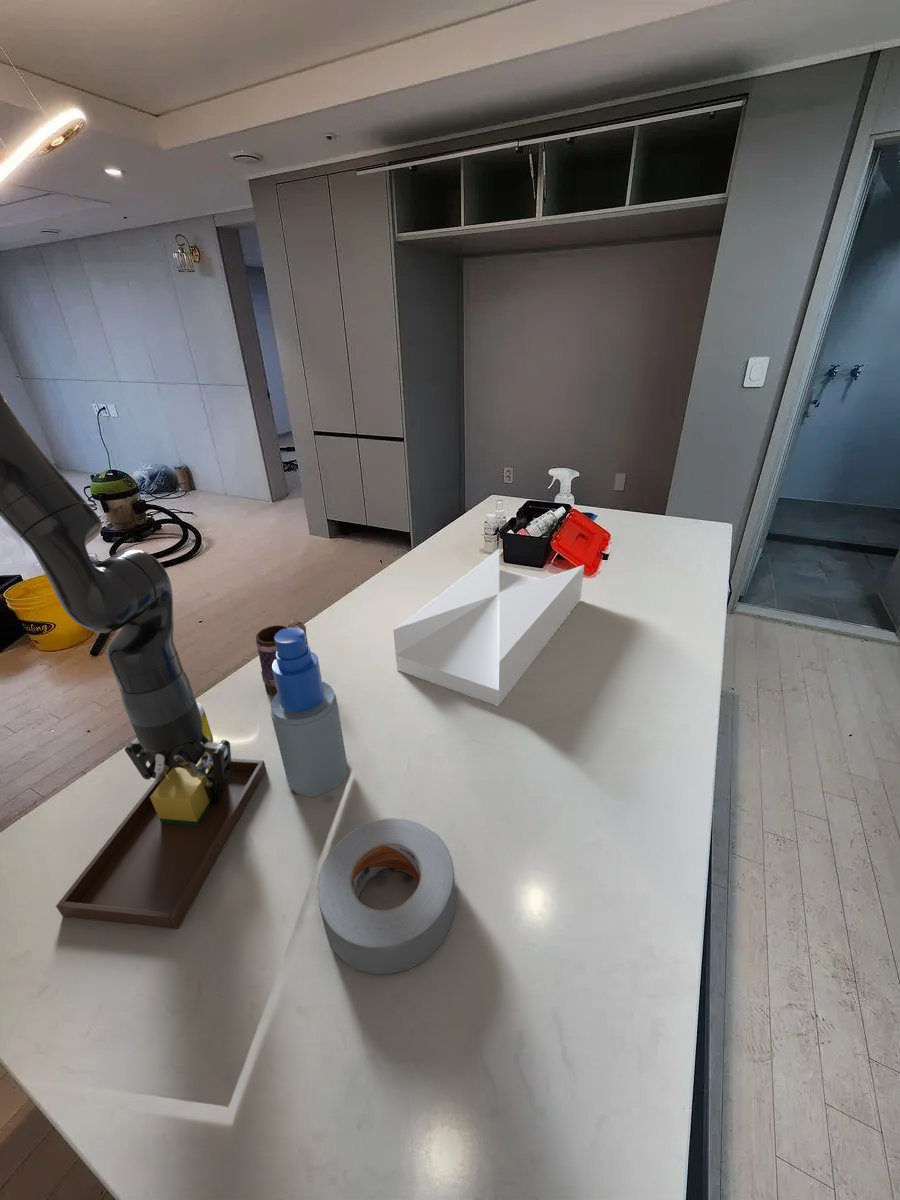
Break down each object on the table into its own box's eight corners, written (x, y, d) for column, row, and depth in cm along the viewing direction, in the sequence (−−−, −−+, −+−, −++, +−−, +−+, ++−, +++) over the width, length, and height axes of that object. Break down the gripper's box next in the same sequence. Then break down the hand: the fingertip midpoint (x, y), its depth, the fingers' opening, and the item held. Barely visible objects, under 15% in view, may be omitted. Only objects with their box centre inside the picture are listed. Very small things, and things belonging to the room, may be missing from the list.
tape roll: (298, 902, 60) (290, 875, 57) (398, 822, 69) (396, 796, 67) (378, 1011, 50) (373, 984, 47) (482, 901, 59) (483, 874, 57)
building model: (498, 706, 90) (499, 661, 85) (397, 670, 100) (393, 628, 95) (580, 600, 123) (584, 564, 119) (498, 581, 134) (499, 547, 129)
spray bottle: (274, 783, 75) (237, 641, 64) (317, 745, 82) (290, 610, 70) (319, 808, 71) (288, 661, 60) (360, 766, 78) (339, 626, 66)
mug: (280, 702, 92) (267, 647, 86) (257, 688, 96) (243, 634, 90) (324, 675, 99) (315, 622, 93) (301, 662, 103) (291, 611, 97)
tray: (64, 919, 58) (55, 906, 57) (180, 767, 79) (175, 754, 78) (179, 932, 57) (173, 918, 56) (267, 773, 77) (264, 760, 76)
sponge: (160, 822, 69) (149, 797, 67) (193, 777, 76) (184, 752, 74) (198, 825, 69) (188, 800, 66) (227, 779, 76) (219, 754, 73)
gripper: (229, 689, 67) (256, 780, 75) (129, 684, 69) (165, 774, 77) (199, 728, 61) (231, 824, 69) (88, 721, 62) (132, 816, 70)
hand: (196, 797), depth 73 cm, fingers closed on sponge, 5 cm apart
